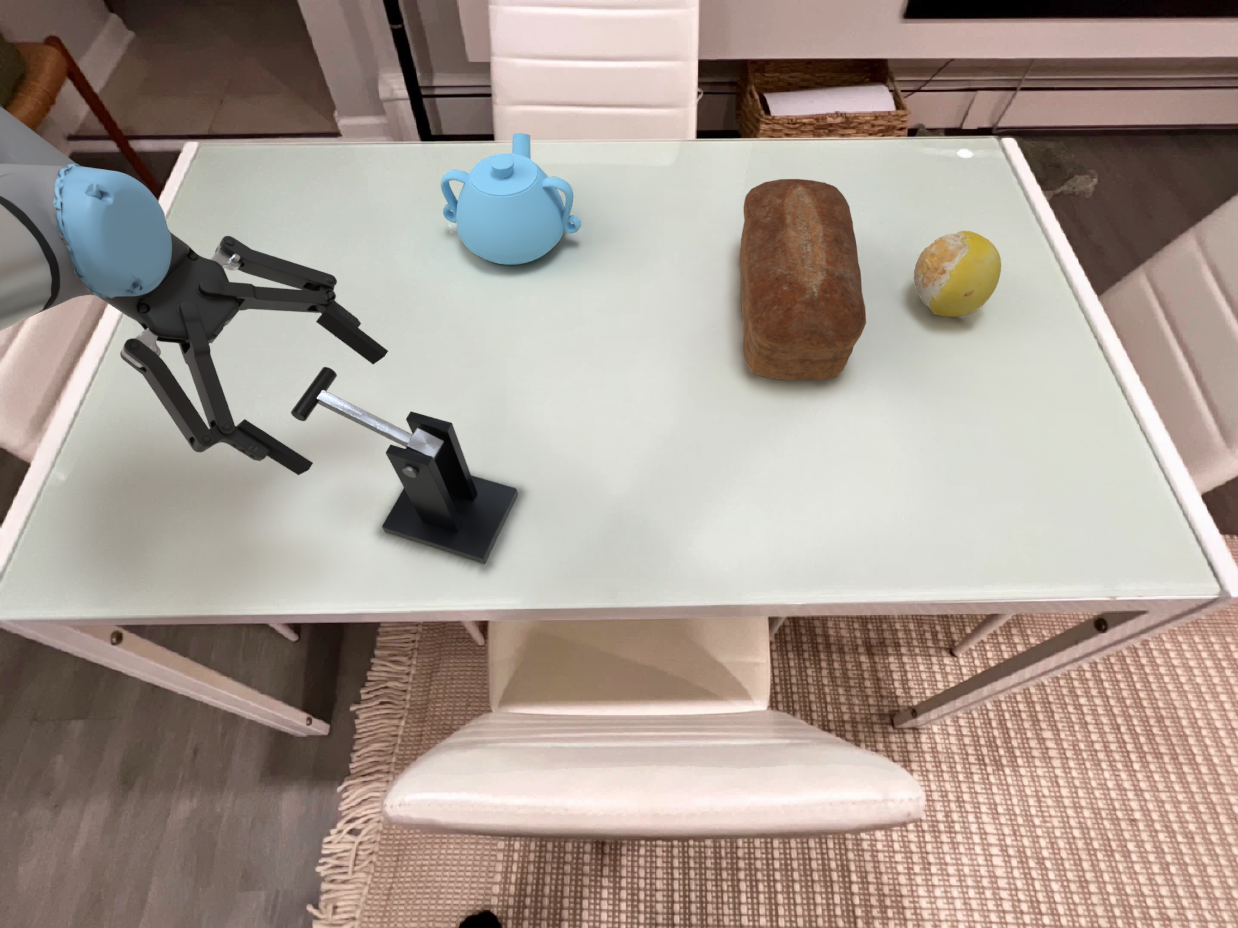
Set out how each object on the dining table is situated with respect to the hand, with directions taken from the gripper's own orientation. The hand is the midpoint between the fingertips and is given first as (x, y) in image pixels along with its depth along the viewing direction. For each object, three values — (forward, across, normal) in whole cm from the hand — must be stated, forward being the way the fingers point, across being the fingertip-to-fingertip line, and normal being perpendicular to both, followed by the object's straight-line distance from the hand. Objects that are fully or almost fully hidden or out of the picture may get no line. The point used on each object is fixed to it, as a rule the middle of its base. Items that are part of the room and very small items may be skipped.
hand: (345, 411), depth 66 cm
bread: (+37, -42, +14) cm, 58 cm away
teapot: (+8, -46, -14) cm, 49 cm away
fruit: (+51, -50, +28) cm, 76 cm away
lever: (+3, 0, 0) cm, 3 cm away
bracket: (+16, 0, -6) cm, 17 cm away
